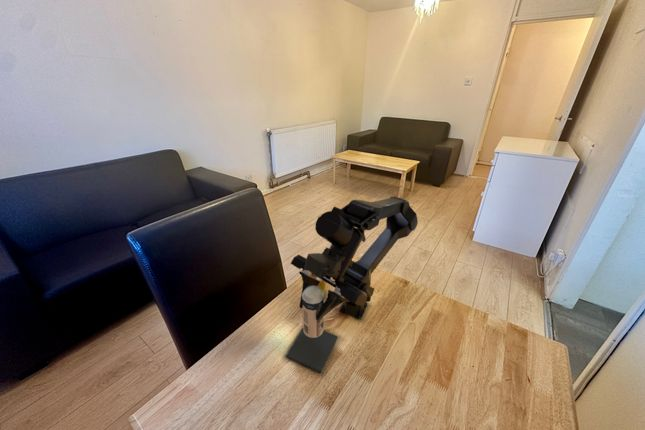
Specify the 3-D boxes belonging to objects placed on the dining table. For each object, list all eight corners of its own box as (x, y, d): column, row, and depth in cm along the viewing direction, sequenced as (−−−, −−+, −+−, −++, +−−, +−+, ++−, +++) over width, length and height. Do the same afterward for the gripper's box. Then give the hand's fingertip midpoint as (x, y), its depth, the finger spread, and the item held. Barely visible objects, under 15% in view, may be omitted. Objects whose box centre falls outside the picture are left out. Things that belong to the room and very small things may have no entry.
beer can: (323, 339, 59) (324, 300, 54) (302, 339, 59) (301, 300, 53) (323, 321, 63) (323, 284, 58) (303, 322, 63) (302, 284, 58)
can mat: (306, 325, 69) (306, 323, 69) (337, 337, 66) (337, 336, 66) (286, 356, 61) (286, 355, 61) (320, 373, 58) (321, 371, 58)
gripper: (294, 224, 59) (259, 287, 56) (364, 258, 48) (323, 338, 45) (318, 240, 67) (288, 294, 65) (381, 272, 56) (348, 339, 54)
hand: (308, 313), depth 57 cm, fingers closed on beer can, 5 cm apart
